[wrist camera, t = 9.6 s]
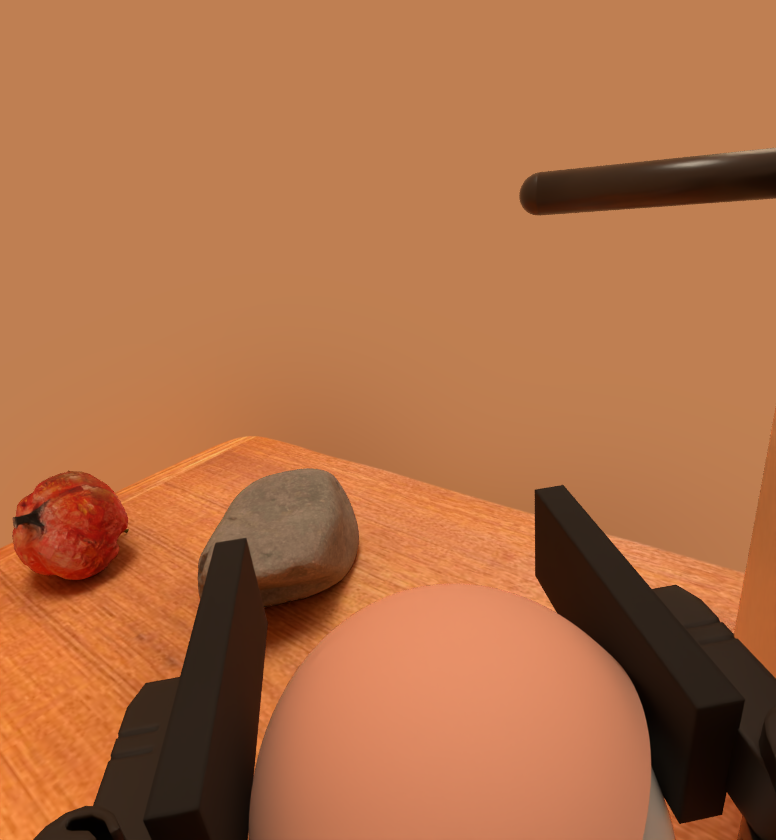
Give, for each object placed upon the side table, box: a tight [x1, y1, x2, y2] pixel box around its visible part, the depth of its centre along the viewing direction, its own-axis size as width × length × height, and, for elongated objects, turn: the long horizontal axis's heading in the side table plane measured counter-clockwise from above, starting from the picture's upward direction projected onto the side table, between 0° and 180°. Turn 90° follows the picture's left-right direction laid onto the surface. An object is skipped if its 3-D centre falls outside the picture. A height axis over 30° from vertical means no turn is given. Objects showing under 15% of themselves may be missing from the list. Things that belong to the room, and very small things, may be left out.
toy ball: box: [249, 584, 676, 840], centre depth 11 cm, size 8×8×8 cm
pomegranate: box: [12, 471, 129, 580], centre depth 40 cm, size 7×7×10 cm
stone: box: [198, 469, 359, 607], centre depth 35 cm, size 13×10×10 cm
